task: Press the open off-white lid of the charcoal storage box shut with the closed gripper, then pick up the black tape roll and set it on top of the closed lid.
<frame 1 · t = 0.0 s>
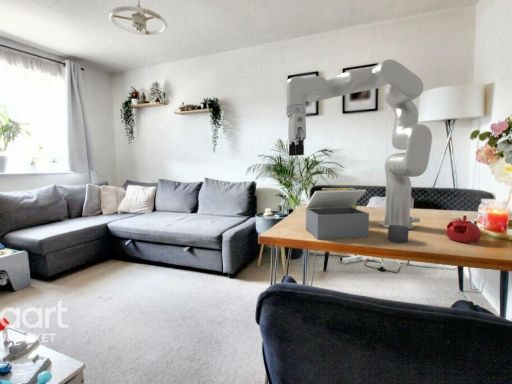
hand: (296, 155, 106), 31 cm above the table, tool pointing down, fingers open, 9 cm apart
protein box: (337, 221, 128), on the table
pomegranate: (462, 241, 95), on the table
box lid: (334, 199, 107), point 13 cm above the table, hinge at 35.0°
tape roll: (397, 240, 96), on the table
storage box: (335, 232, 107), on the table
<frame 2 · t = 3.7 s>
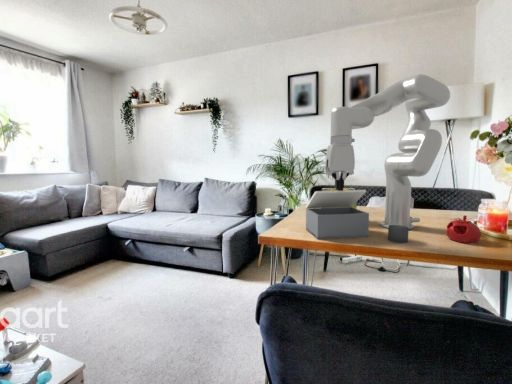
hand: (339, 190, 102), 18 cm above the table, tool pointing down, fingers closed
box lid: (334, 199, 107), point 13 cm above the table, hinge at 34.5°, touching gripper
everything else where it was.
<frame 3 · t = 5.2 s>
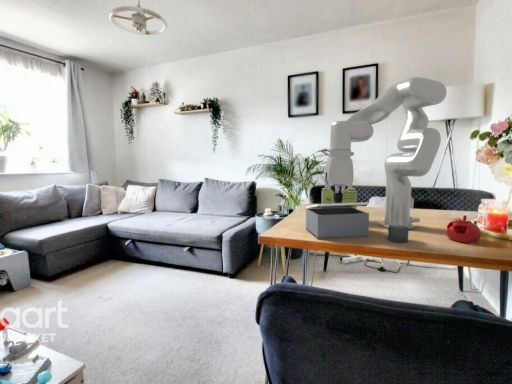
hand: (337, 202, 102), 13 cm above the table, tool pointing down, fingers closed
box lid: (335, 205, 106), point 11 cm above the table, hinge at 13.8°, touching gripper
everything else where it was.
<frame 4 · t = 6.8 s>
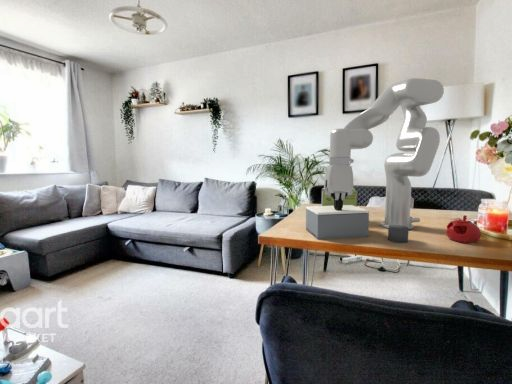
hand: (338, 209, 103), 10 cm above the table, tool pointing down, fingers closed
box lid: (335, 209, 106), point 10 cm above the table, hinge at 0.6°, touching gripper
everything else where it was.
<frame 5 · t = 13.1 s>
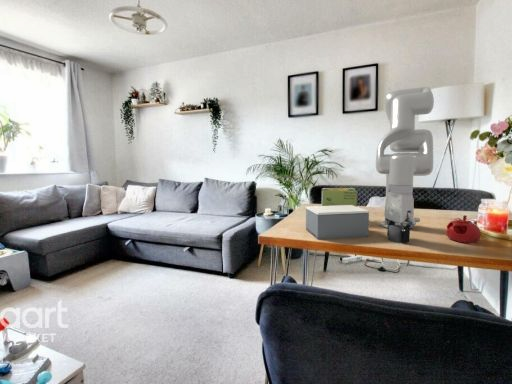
hand: (397, 238, 96), 1 cm above the table, tool pointing down, fingers closed on tape roll, 6 cm apart
box lid: (335, 209, 106), point 10 cm above the table, hinge at 0.5°
tape roll: (397, 240, 96), on the table, touching gripper
everything else where it was.
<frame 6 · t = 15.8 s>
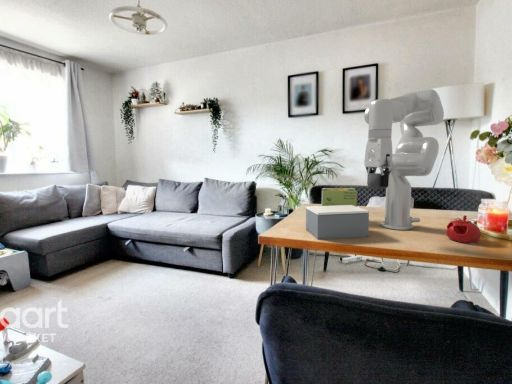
hand: (377, 185, 97), 20 cm above the table, tool pointing down, fingers closed on tape roll, 6 cm apart
tape roll: (377, 187, 97), point 19 cm above the table, touching gripper
everything else where it was.
when the fingers open (12 cm above the table, at t = 18.5 s): tape roll drops 1 cm, resting on box lid.
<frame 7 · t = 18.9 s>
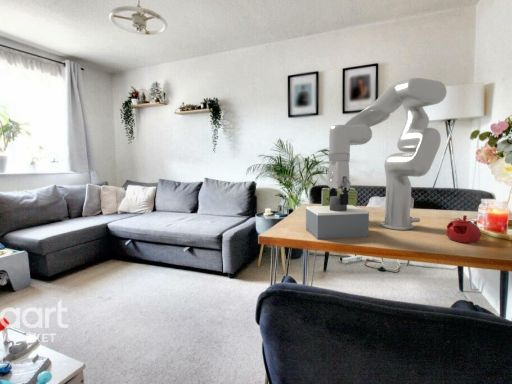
hand: (338, 202, 103), 13 cm above the table, tool pointing down, fingers open, 9 cm apart
box lid: (335, 209, 106), point 9 cm above the table, hinge at -0.5°, touching storage box, tape roll
tape roll: (338, 209, 104), point 10 cm above the table, touching box lid
everything else where it was.
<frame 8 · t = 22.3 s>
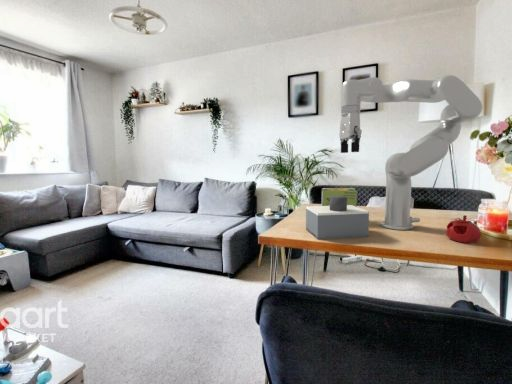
hand: (349, 152, 114), 32 cm above the table, tool pointing down, fingers open, 9 cm apart
nothing on the table moved.
at the end: box lid at +0° (first picture: +35°); tape roll inside the target area on the storage box (0.0 cm from its centre), point 9.8 cm above the storage box's base; tape roll tilted 0° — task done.
